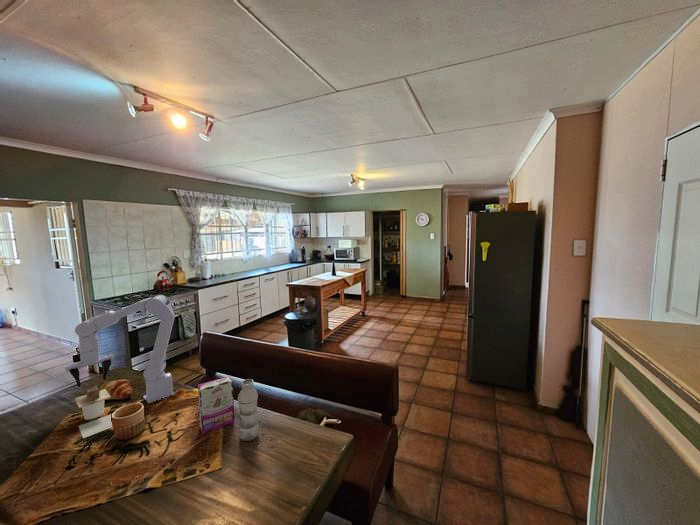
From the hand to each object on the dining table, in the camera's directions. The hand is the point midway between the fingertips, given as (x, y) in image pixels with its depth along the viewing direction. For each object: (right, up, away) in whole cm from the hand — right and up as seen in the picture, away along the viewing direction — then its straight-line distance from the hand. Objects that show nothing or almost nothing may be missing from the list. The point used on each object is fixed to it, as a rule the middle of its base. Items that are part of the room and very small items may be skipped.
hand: (91, 382), depth 115 cm
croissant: (+2, -10, +11) cm, 15 cm away
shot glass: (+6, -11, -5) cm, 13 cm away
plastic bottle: (+70, -12, -17) cm, 73 cm away
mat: (+13, -11, -11) cm, 20 cm away
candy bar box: (+56, -12, -10) cm, 58 cm away
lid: (+6, -4, -6) cm, 9 cm away
